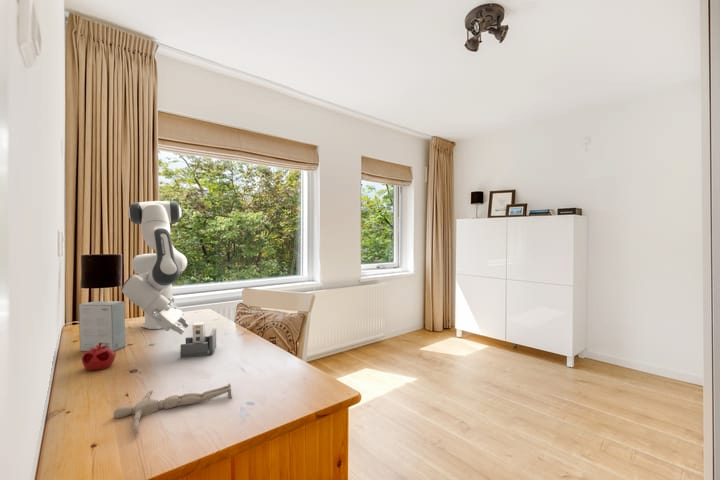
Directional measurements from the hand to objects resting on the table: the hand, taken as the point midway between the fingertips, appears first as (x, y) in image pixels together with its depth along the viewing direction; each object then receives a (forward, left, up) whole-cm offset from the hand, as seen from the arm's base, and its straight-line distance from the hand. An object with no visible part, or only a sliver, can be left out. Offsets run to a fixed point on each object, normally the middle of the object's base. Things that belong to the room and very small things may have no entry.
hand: (185, 329), depth 146 cm
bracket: (0, +5, -10) cm, 11 cm away
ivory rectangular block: (0, +5, -9) cm, 10 cm away
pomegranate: (+8, -28, -10) cm, 31 cm away
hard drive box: (-16, -36, -10) cm, 40 cm away
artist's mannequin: (+48, +7, -11) cm, 50 cm away
